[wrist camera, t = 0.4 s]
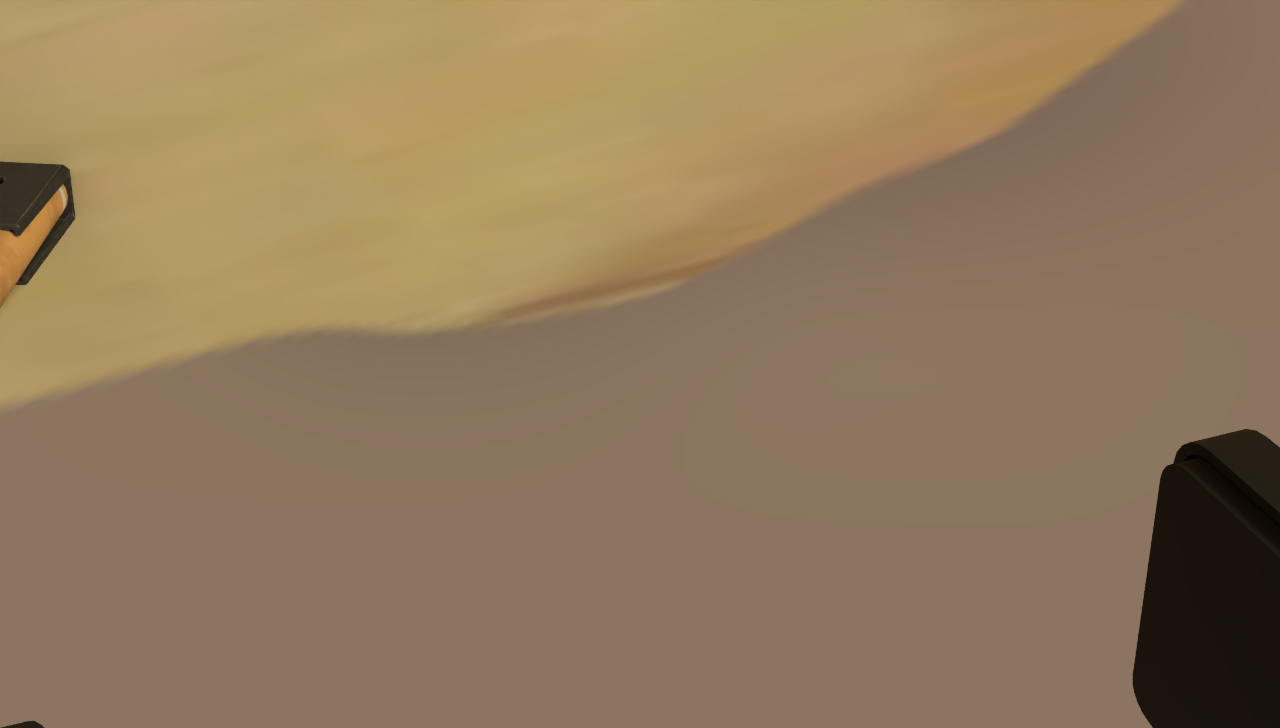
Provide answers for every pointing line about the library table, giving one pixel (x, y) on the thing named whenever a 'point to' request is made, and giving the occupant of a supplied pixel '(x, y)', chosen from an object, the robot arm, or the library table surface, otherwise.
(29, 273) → the ammunition clip
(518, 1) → the library table surface
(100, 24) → the library table surface
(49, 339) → the library table surface
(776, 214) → the library table surface
